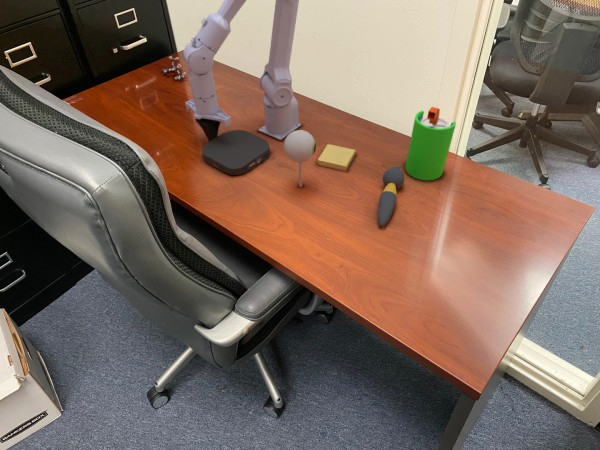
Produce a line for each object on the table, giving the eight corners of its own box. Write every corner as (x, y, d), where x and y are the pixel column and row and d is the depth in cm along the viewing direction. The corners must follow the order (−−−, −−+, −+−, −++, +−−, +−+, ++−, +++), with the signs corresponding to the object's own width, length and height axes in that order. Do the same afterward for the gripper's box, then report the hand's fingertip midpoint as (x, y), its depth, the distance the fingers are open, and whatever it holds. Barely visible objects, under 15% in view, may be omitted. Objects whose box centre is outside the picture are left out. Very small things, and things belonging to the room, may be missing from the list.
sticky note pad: (327, 148, 117) (327, 143, 116) (355, 154, 115) (355, 149, 114) (317, 164, 112) (317, 159, 111) (345, 171, 110) (346, 166, 109)
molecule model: (179, 73, 154) (164, 52, 149) (194, 72, 145) (178, 50, 140) (167, 84, 152) (151, 64, 148) (180, 84, 143) (164, 62, 139)
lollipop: (312, 197, 103) (312, 143, 92) (282, 193, 104) (279, 140, 94) (317, 178, 108) (318, 125, 97) (289, 175, 109) (287, 122, 98)
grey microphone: (398, 232, 94) (401, 215, 91) (374, 229, 95) (377, 212, 92) (403, 176, 108) (406, 159, 105) (383, 173, 109) (385, 157, 106)
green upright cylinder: (445, 166, 111) (462, 101, 98) (438, 184, 106) (455, 118, 93) (409, 157, 114) (422, 93, 101) (401, 175, 109) (413, 109, 96)
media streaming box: (237, 133, 123) (235, 124, 120) (276, 152, 116) (275, 143, 114) (197, 158, 115) (194, 148, 113) (236, 180, 108) (235, 170, 106)
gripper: (172, 91, 109) (183, 137, 119) (213, 109, 103) (221, 156, 113) (193, 80, 113) (202, 126, 123) (234, 97, 107) (240, 144, 117)
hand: (212, 140), depth 118 cm, fingers closed
